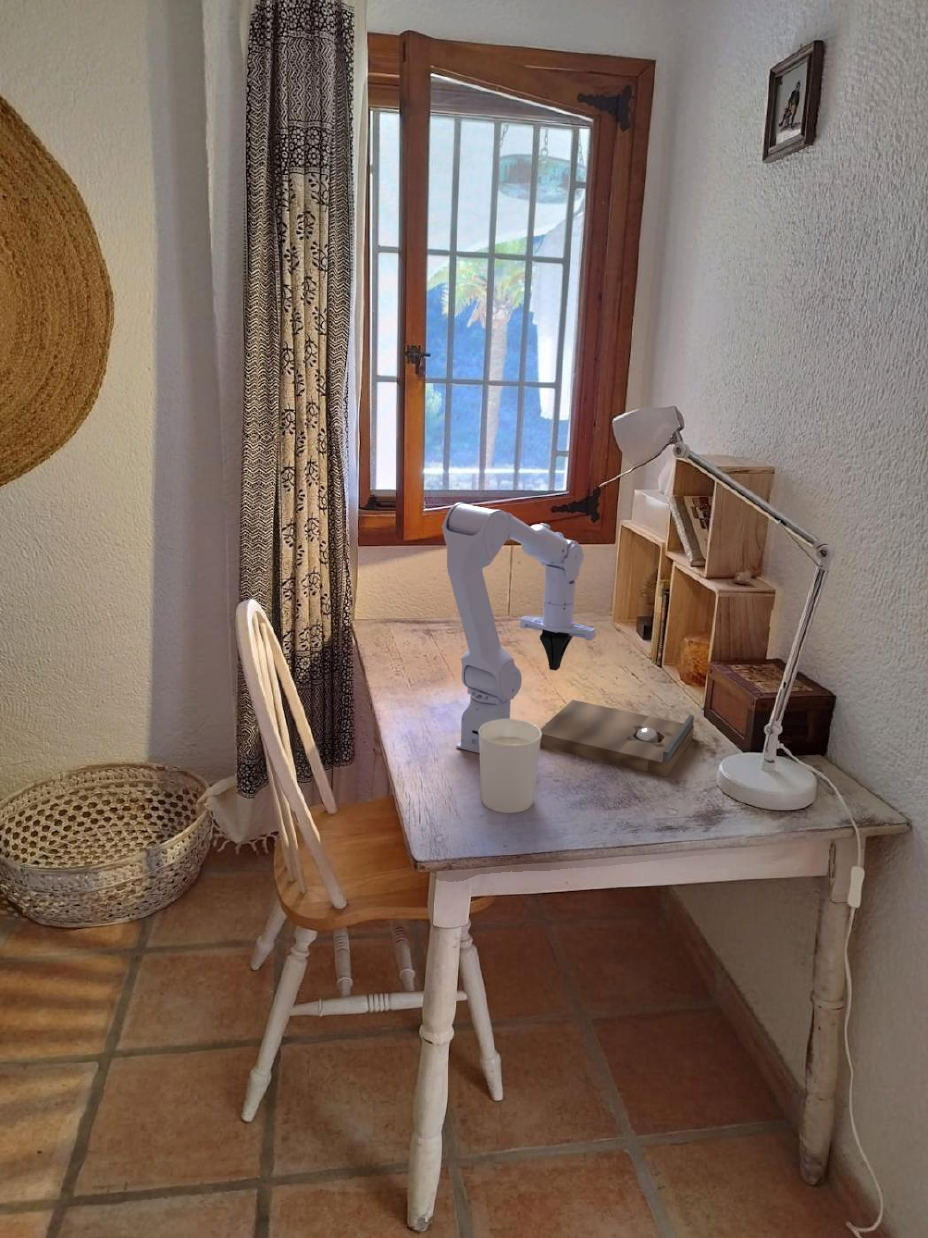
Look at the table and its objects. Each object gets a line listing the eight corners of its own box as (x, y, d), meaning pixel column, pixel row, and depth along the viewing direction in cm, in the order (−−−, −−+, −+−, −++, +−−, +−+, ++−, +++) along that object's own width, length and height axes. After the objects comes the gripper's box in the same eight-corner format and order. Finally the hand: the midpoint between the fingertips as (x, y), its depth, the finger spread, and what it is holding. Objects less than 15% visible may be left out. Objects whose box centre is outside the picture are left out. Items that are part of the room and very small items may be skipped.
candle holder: (550, 800, 142) (554, 731, 138) (511, 823, 135) (515, 751, 131) (502, 780, 148) (505, 713, 144) (463, 800, 141) (465, 731, 137)
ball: (645, 757, 159) (658, 743, 157) (628, 743, 160) (640, 728, 158) (652, 748, 163) (665, 734, 160) (635, 734, 163) (647, 719, 161)
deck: (535, 745, 161) (537, 722, 160) (571, 711, 176) (573, 690, 175) (666, 777, 150) (669, 752, 149) (692, 738, 166) (695, 715, 164)
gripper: (602, 601, 168) (597, 669, 172) (531, 590, 175) (528, 655, 179) (589, 611, 162) (584, 680, 166) (517, 599, 169) (513, 666, 173)
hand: (554, 668), depth 172 cm, fingers closed
